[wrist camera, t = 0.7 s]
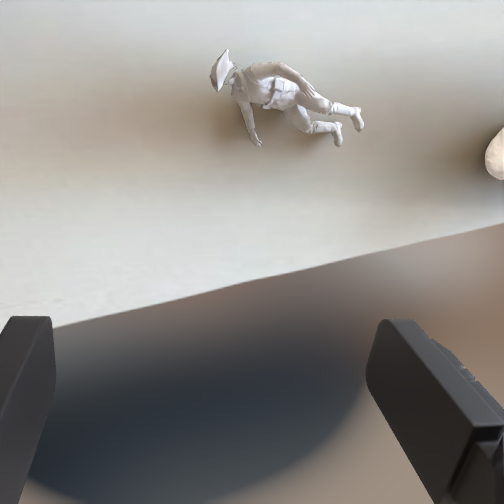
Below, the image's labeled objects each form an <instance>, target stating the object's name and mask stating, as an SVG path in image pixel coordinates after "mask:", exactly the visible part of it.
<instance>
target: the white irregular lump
mask: <svg viewBox="0 0 504 504" xmlns="http://www.w3.org/2000/svg"><path fill="white" fill-rule="evenodd" d="M485 166H486V169H487V170H488V172H489V173H490V174H491V175H492V176H494V177H495V178H497V179H499V180H504V127H503V129H502V130H501V131H500V132H499V133H498V134H497V135H496V137H494V138H493V139H492V141H491V142H490V144H489V146H488V148H487V150H486V153H485Z"/></svg>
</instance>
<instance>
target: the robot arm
mask: <svg viewBox="0 0 504 504" xmlns="http://www.w3.org/2000/svg"><path fill="white" fill-rule="evenodd" d="M366 381H367V386H368V389H369V391H370V392H371V395H372V396H373V398H374V400H375V401H376V403H377V405H378V407H379V408H380V410H381V412H382V414H383V415H384V417H385V419H386V421H387V422H388V424H389V426H390V428H391V429H392V431H393V433H394V434H395V436H396V438H397V440H398V441H399V443H400V445H401V447H402V448H403V450H404V452H405V454H406V455H407V457H408V459H409V460H410V462H411V464H412V466H413V467H414V469H415V471H416V473H417V474H418V476H419V478H420V480H421V481H422V483H423V485H424V486H425V488H426V490H427V492H428V494H429V495H430V497H431V499H432V500H433V502H434V504H504V409H503V408H502V407H501V406H500V405H499V403H498V402H497V401H496V400H495V399H494V398H493V397H492V396H491V395H490V394H489V393H488V391H486V389H485V388H484V387H483V386H482V385H481V384H480V383H479V382H478V381H475V377H474V376H473V375H472V374H471V373H470V372H469V371H468V370H467V369H464V365H463V364H462V363H461V362H460V361H459V360H458V359H457V358H456V357H455V355H454V354H452V352H451V351H450V350H448V349H447V348H445V347H444V346H442V345H441V344H439V343H438V342H436V341H435V340H433V339H430V338H429V337H428V335H427V334H426V333H425V332H424V331H423V330H422V329H421V327H420V326H419V325H418V324H417V323H416V322H415V321H413V320H409V319H408V320H407V319H384V320H382V321H381V322H380V323H379V325H378V328H377V332H376V335H375V339H374V342H373V345H372V349H371V352H370V356H369V359H368V363H367V366H366ZM55 384H56V365H55V353H54V342H53V330H52V322H51V318H50V317H49V316H12V317H11V318H10V319H9V320H8V322H7V324H6V325H5V327H4V329H3V330H2V332H1V334H0V504H18V502H19V499H20V496H21V493H22V490H23V487H24V484H25V481H26V478H27V475H28V472H29V469H30V466H31V463H32V460H33V457H34V454H35V451H36V448H37V445H38V442H39V439H40V436H41V433H42V430H43V427H44V424H45V421H46V418H47V415H48V412H49V409H50V406H51V403H52V400H53V396H54V391H55Z"/></svg>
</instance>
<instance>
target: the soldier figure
mask: <svg viewBox="0 0 504 504" xmlns="http://www.w3.org/2000/svg"><path fill="white" fill-rule="evenodd" d="M233 64H234V63H232V62H231V61H229V57H228V49H227V50H225V52H224V53H223V54H222V55H221V56H220V57H219V58H218V59H217V61H216V63H215V64H214V66H213V67H212V70H211V74H210V79H211V83H212V85H213V87H214V88H215V89H216V91H217V92H218V91H219V90H220V89H221V87H222V85H223V84H224V82H225V80H226V77H227V73H228V71H229V70H230V69H233V68H234V67H233ZM236 67H237V66H236ZM236 69H237V68H236ZM275 75H280V76H281V77H283V78H279V77H278V78H274V77H273V76H275ZM302 77H303V76H302V75H301V74H299V73H297V72H296V71H294V70H293V69H292V68H290V67H288V66H287V65H285V64H283V63H281V62H278V63H271V62H269V63H254V64H252V65H251V66H249V67H247V68H246V69H242V70H241V72H235V73H234V74H233V76H232V77H231V78H230V80H229V81H228V84H229V85H232V91H231V95H233V97H234V98H235V100H236V101H237V103H238V104H239V106H240V109H241V112H242V115H243V118H244V120H245V123H246V127H247V130H249V134H250V136H251V140H252V142H253V143H254V145H255V146H257V147H260V146H261V144H262V142H261V141H260V140H259V139H258V138H257V135H256V132H255V131H254V128H255V124H254V118H253V111H252V108H251V103H250V102H253V103H256V104H257V106H260V108H264V109H270V108H273V109H279V110H282V111H283V112H284V113H285V115H286V116H287V117H288V119H289V120H290V122H291V123H292V124H293V125H294V126H295V127H296V128H297V129H298V130H299V131H304V132H305V133H309V134H312V133H317V132H332V134H333V136H334V143H335V146H337V147H339V146H341V144H342V142H343V137H342V135H341V133H340V130H341V129H342V124H341V123H338V122H333V123H331V122H323V121H316V120H314V121H310V118H309V116H307V114H306V110H305V109H304V107H305V108H307V109H309V110H312V111H314V112H318V113H322V114H325V115H326V114H328V115H332V114H339V115H345V116H350V117H351V119H352V120H353V123H354V126H355V129H356V130H357V131H358V132H360V131H361V130H362V129H363V127H364V121H363V120H362V119H361V117H360V114H361V109H360V108H359V107H347V106H345V105H342V104H340V103H337V102H332V103H331V102H330V101H329V100H327V99H325V98H323V97H322V96H321V95H319V94H318V93H316V90H315V89H314V88H313V87H312V86H311V84H310V83H308V82H307V81H306V80H304V79H303V78H302ZM225 85H227V84H225ZM258 142H259V143H261V144H259V143H258Z"/></svg>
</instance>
